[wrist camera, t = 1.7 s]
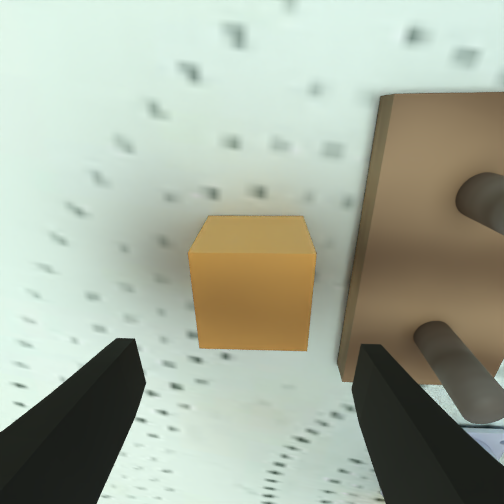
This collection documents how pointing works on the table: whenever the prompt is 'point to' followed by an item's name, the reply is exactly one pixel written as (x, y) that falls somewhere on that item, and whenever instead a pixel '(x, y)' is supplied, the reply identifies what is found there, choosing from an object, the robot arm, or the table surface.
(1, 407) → the table surface
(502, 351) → the wooden peg board
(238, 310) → the wooden toy cube
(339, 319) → the table surface
